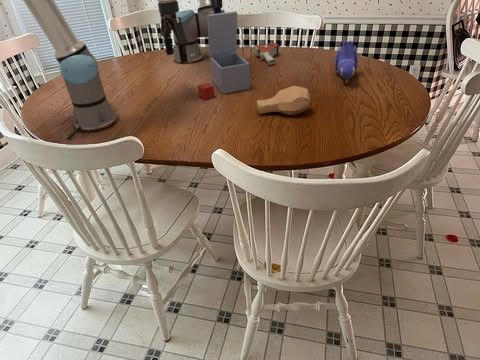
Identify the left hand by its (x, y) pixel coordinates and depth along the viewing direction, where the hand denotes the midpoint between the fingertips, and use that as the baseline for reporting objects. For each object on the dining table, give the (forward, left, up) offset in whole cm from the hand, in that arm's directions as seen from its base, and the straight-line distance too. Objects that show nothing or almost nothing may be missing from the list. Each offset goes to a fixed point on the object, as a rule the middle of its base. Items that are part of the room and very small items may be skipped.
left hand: (177, 58), depth 145 cm
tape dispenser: (+40, -38, -14) cm, 57 cm away
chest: (+5, -21, -14) cm, 26 cm away
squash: (-24, -41, -14) cm, 50 cm away
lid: (+11, -19, +6) cm, 22 cm away
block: (-7, -11, -14) cm, 19 cm away
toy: (+7, -71, -14) cm, 73 cm away
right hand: (+17, -17, +8) cm, 25 cm away
